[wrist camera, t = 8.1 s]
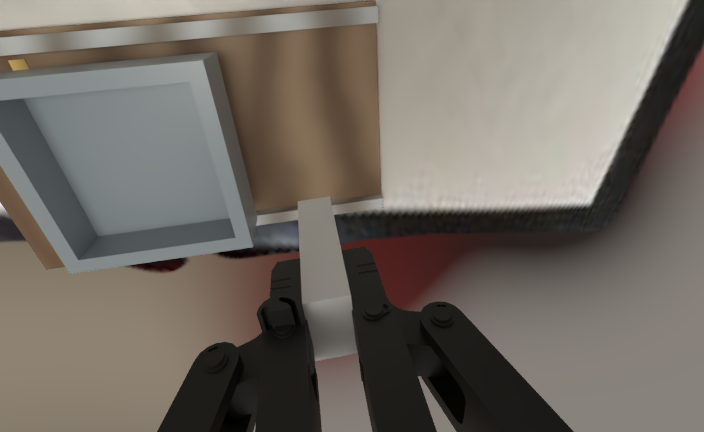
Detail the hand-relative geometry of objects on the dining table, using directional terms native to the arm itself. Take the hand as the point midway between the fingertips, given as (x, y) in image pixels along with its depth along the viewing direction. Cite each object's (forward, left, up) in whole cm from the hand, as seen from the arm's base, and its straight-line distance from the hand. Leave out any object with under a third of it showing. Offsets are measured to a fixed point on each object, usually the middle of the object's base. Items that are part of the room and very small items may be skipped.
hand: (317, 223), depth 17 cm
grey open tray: (+13, +1, -19) cm, 24 cm away
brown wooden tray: (+10, +1, -21) cm, 23 cm away
